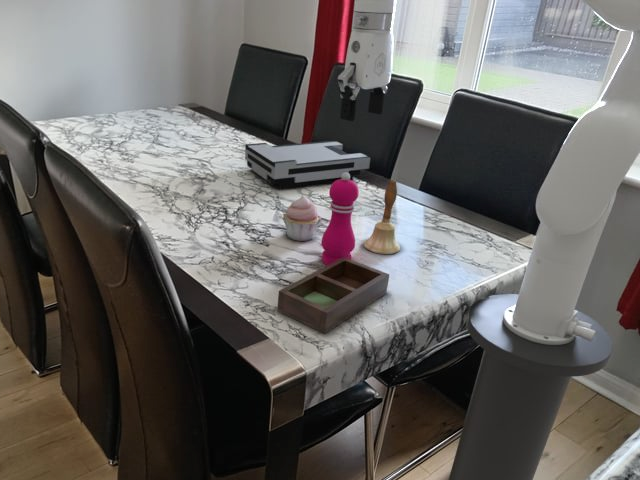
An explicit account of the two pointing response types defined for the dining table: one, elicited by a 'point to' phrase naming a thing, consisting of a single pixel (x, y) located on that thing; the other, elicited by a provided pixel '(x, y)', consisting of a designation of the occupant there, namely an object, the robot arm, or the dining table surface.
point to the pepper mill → (340, 221)
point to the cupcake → (301, 220)
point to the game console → (303, 163)
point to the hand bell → (385, 227)
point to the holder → (332, 294)
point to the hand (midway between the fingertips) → (361, 116)
